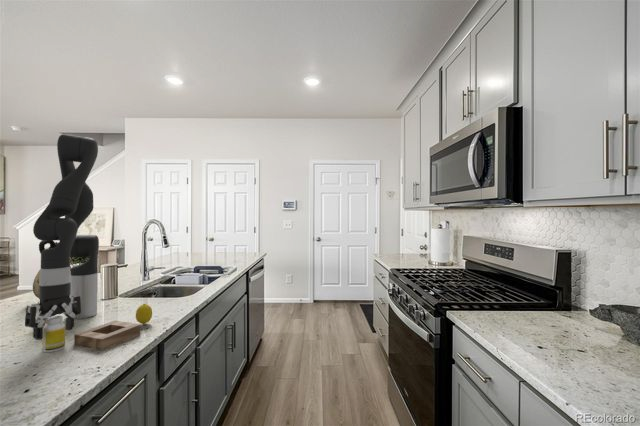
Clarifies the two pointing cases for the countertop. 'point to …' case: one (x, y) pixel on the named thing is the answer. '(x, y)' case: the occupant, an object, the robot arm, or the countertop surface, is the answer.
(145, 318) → the lemon
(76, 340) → the block
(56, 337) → the supplement bottle
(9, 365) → the countertop surface
